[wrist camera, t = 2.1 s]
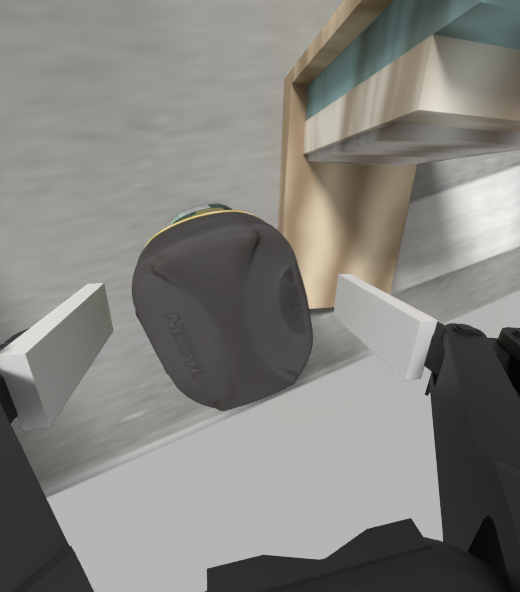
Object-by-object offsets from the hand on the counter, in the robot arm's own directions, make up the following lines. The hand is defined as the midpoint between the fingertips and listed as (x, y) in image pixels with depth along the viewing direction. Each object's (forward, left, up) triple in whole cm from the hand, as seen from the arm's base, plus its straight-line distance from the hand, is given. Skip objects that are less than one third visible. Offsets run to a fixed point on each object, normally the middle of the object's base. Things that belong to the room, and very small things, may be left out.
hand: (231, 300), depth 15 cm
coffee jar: (0, 0, -14) cm, 14 cm away
